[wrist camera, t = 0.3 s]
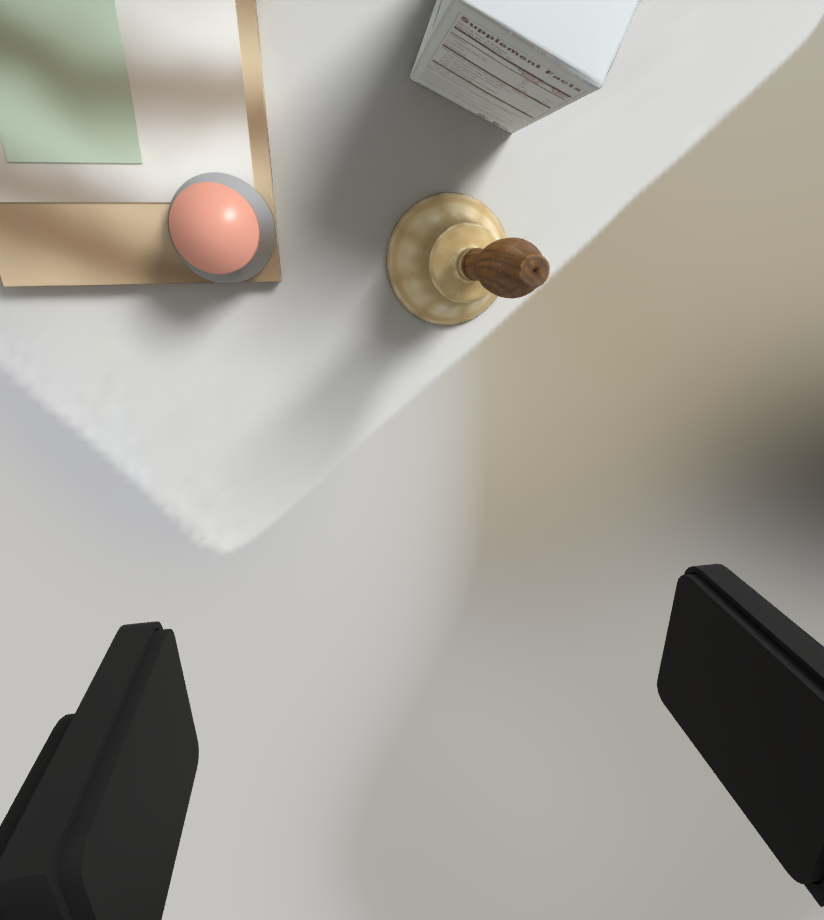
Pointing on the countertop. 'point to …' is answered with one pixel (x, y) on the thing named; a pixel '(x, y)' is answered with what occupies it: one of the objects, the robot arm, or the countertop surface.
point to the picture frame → (126, 136)
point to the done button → (214, 228)
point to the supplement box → (520, 54)
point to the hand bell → (458, 260)
